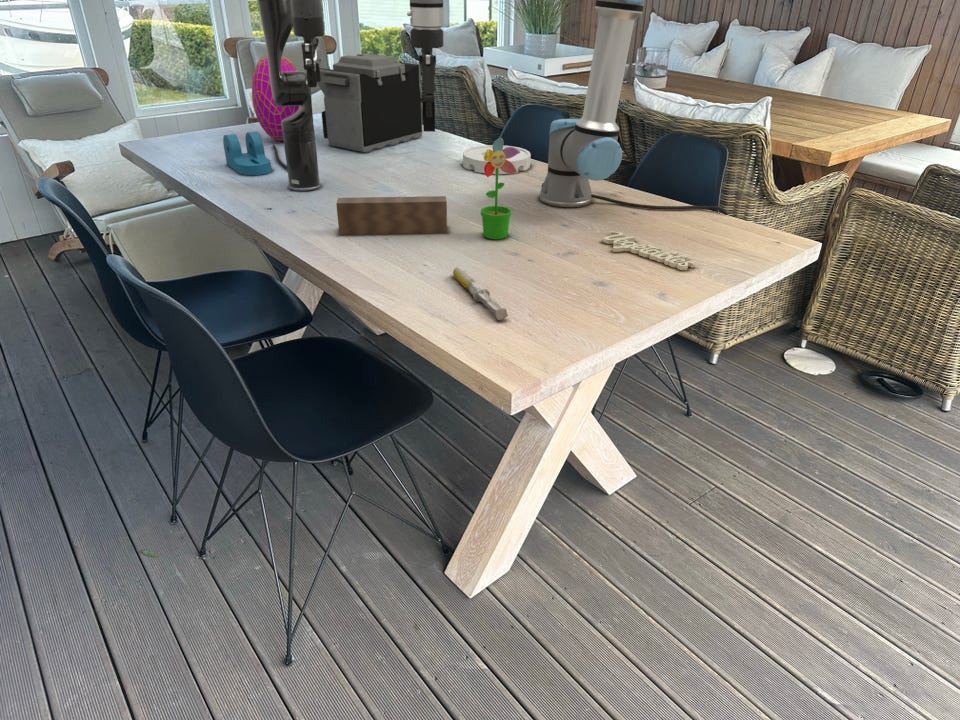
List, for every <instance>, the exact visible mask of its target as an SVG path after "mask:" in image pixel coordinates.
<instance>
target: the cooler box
mask: <svg viewBox="0 0 960 720" xmlns="http://www.w3.org/2000/svg"><path fill="white" fill-rule="evenodd" d="M320 76H321V81H320V82H317V86H318V87H319V89H320V90H321V93H322V94H323V95H324V96H323V103H324V104H323V105H324V110H323V111H321V124H322V132H323V138H324V139H325V140H327V141H328V144H329V145H330V146H333V147H337V148H342V149H346V150H351V151H356V152H361V153H370V152H372V151H373V150H374V149H376V150H380V149H384V148H385V147H386V146H391V147H392V146H396V145H397V144H398V143H399V142H401V143H406V142H409V141H410V140H416V139H420V138H421V137H423V110H422V102H420V98H422V88H421V74H420V65H419V64H417V63H416V64H415V63H408V62H399V60H398V59H397V57H396V56H393V55H384V54H375V53H357V54H356V55H341V56H340V58H339V60H338V62H336V63H333V64H332V68H324V67H320Z"/></svg>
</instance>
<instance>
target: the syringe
mask: <svg viewBox="0 0 960 720" xmlns="http://www.w3.org/2000/svg"><path fill="white" fill-rule="evenodd" d="M452 274H453V277H454V279H455V280H457V281H458V282H459V283H460V285H462V287H464V289H466V290H467V291H468V293H470V295H471V296H472V298H473V300H474V302H477V303H478V302H480V303H482V304H483V305H484V306H485V307H486V308H487V309H488V310H489V311H490V312H491V313H492V314H493V315H494V316H495V317H496V320H497V321H503V320H504V319H506V318H507V317H509V314H508V310H507V308H506V307H502V306H501V305H500V303H498V302H497V301H496V300H494V299H493V298H492V297H491V296H490V295H491V293H490V290H488V289H486V288H483V287H482V286H481V285H480V284H479V283H478V282H477V281H476V280H474V278H473V277H471V275H469V274H468V273H467V272H466V270H465V269H464V268H463V267H462V266H456V267H454V268H453V271H452Z"/></svg>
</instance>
